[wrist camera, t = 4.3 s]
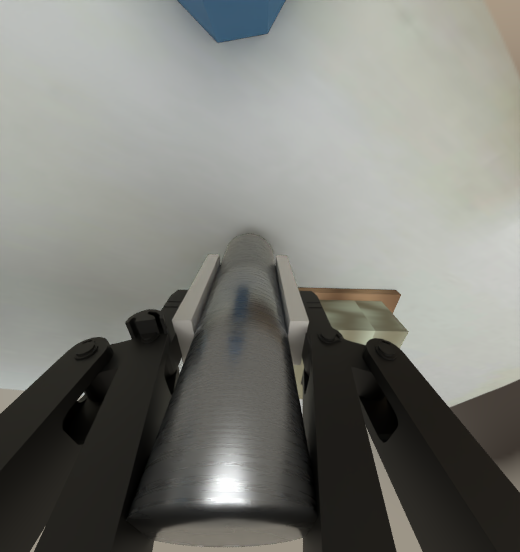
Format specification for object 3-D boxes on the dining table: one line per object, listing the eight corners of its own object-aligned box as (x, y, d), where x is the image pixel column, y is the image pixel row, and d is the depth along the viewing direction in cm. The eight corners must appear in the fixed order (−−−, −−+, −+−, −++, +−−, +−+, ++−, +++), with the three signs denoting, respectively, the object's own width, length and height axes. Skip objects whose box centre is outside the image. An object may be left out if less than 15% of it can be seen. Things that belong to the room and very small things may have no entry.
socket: (262, 362, 31) (262, 402, 25) (265, 286, 24) (266, 320, 19) (363, 364, 31) (384, 405, 25) (396, 290, 24) (433, 324, 19)
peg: (226, 277, 17) (153, 548, 5) (223, 233, 15) (90, 501, 3) (271, 278, 17) (306, 545, 5) (274, 234, 15) (341, 499, 3)
